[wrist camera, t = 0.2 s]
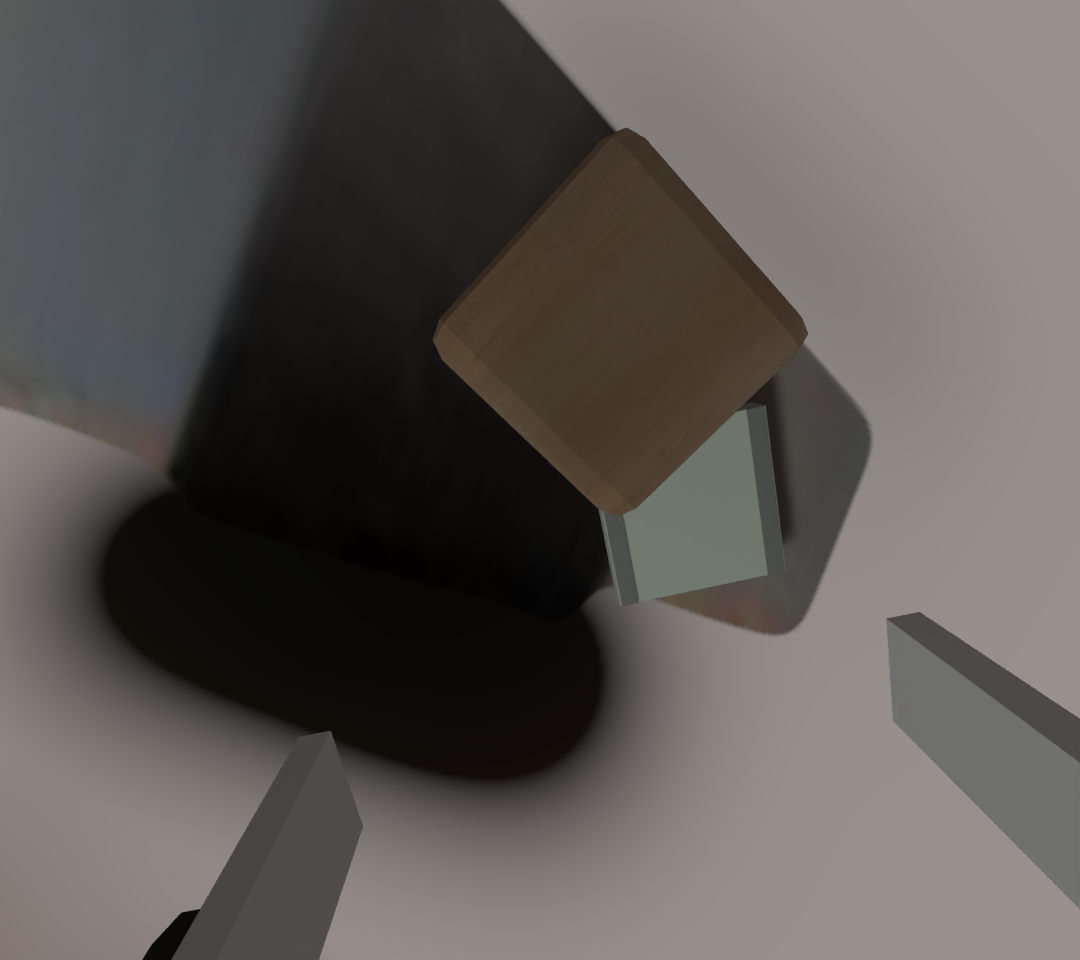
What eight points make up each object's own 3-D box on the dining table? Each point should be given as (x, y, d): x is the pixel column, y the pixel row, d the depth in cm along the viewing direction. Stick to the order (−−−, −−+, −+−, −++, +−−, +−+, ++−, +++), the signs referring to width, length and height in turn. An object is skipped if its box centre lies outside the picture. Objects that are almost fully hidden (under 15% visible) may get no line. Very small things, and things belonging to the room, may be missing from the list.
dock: (584, 438, 40) (588, 443, 37) (750, 402, 40) (766, 405, 37) (614, 591, 43) (620, 606, 40) (770, 558, 42) (786, 571, 40)
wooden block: (470, 346, 38) (415, 338, 19) (573, 234, 37) (630, 100, 17) (573, 446, 40) (621, 534, 21) (675, 343, 39) (831, 332, 19)
